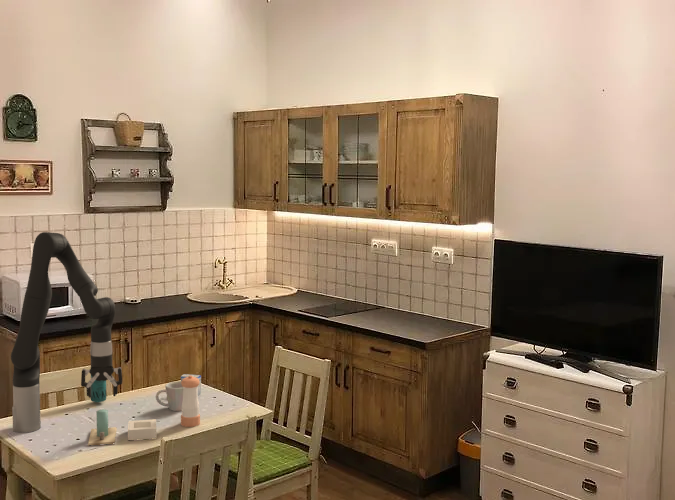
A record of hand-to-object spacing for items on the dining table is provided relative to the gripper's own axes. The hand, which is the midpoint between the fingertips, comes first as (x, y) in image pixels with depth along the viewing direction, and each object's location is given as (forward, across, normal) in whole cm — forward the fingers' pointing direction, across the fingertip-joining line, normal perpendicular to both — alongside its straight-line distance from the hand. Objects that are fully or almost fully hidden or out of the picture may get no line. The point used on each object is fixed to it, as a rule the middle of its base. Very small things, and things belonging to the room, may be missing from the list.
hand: (102, 396), depth 271 cm
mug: (+16, -26, -28) cm, 41 cm away
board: (+15, 0, 0) cm, 16 cm away
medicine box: (+16, -34, -46) cm, 59 cm away
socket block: (+16, -14, 0) cm, 21 cm away
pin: (+15, 0, 0) cm, 15 cm away
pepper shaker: (+16, -32, -9) cm, 37 cm away
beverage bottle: (+16, +4, -41) cm, 44 cm away
